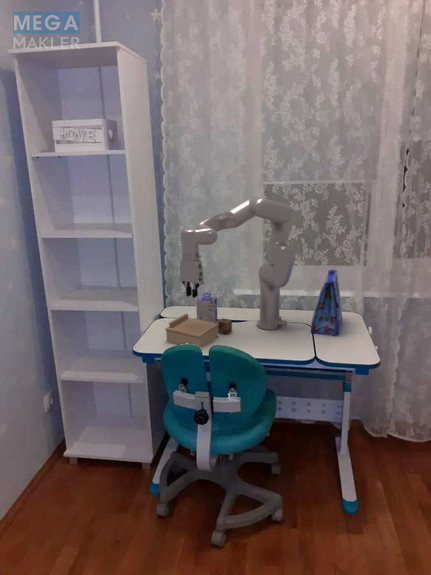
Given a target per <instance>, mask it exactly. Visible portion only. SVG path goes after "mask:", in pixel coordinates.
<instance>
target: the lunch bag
mask: <svg viewBox="0 0 431 575" xmlns="http://www.w3.org/2000/svg"><path fill="white" fill-rule="evenodd" d="M327 271H328V272H327V274H326V276H325V279H324V282H323V284H322V286H321V289H320V291H319V294H318V298H317V301H316V304H315V309H314V311H313V316H312V320H311V326H310V333H311V334H327V335H331V336H334V337H338V336H339V335H340V333H341V332H340V330H341V327H342V322H343V314H342V308H341V303H340V302H341V294H340V287H339V286H340V284H339V277H338V270H336V269H328V270H327Z"/></svg>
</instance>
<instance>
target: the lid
mask: <svg viewBox="0 0 431 575" xmlns="http://www.w3.org/2000/svg"><path fill="white" fill-rule="evenodd" d="M168 324H169V325H168V326H167V327H166V328H165V331H166V330H167V331H172V332H176V333H180V334H184V335H189V336H193V337H197V338H200V337H202V336H203V335H205V334H206V333H208V332H209V331H211V330H212V329H214V328H215V327H217V326H218V325H219V324H217V323H213V322H208V321H203V320H199V319H197V318H194V317H189V314H188V313H184V314H183V315H181V316H179V317H177V318H176V319H173V320H171V321H170V322H169V323H168Z"/></svg>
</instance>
